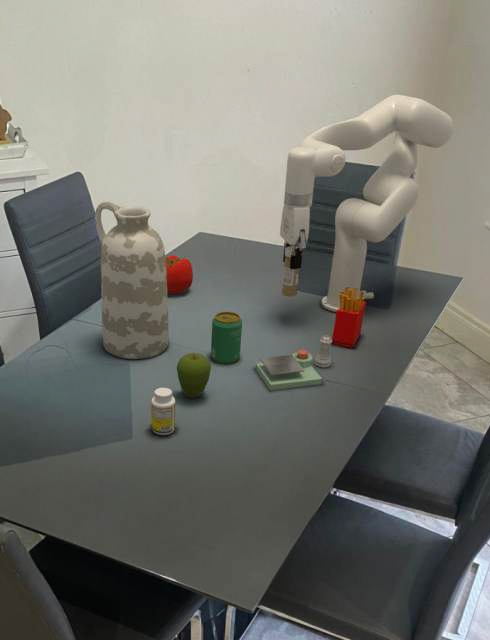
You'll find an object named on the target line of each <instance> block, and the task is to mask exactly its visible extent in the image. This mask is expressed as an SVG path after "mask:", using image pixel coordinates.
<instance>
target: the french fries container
mask: <svg viewBox="0 0 490 640" xmlns="http://www.w3.org/2000/svg"><path fill="white" fill-rule="evenodd" d="M360 291H361V292H360V298H359V297H358V298H356V300H355V297H356V292H357V288H354V291H353V290H352V289H350V290H349V287H348V286H347V287H345V295H344V291H341V294H340V295H339V298H340V308H339V310H337V312H335V318H334V325H333V332H332V337H331V339H332V342H331V344H334V346H335V345H336V346H339V347H340V346H342V347H346V348H354V347H355V345H356V343H357V341H358V340H359V338H360V336H361V333H362V327H363V323H364V321H363V320H364V316H365V310H366V306H367V305H366V304H367V301H365V299H364V298H363V293H364V291H365V290H360ZM352 292H353V296H352ZM351 298H352V300H351Z"/></svg>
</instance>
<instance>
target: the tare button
mask: <svg viewBox="0 0 490 640" xmlns="http://www.w3.org/2000/svg"><path fill="white" fill-rule="evenodd" d="M297 352H298V355H297V358H298V359H302V360H304V359H307V355H308V354H309V352H308V351H307V350H305V349H299V350H298V351H297Z"/></svg>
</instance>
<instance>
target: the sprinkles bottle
mask: <svg viewBox="0 0 490 640" xmlns="http://www.w3.org/2000/svg"><path fill="white" fill-rule="evenodd" d="M297 248H299V246H296V249H297ZM291 255H292V246H289V247H286V249H285V263H284V265H283V272H282V273H283V275H282V289H281V294H282V295H283V297H288V298H290V297H295V296H297V295H298V284H299V274H300V269H290V260H291Z"/></svg>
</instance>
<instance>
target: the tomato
mask: <svg viewBox="0 0 490 640" xmlns="http://www.w3.org/2000/svg"><path fill="white" fill-rule="evenodd" d="M165 259H166V276H167V294H169V295H179V294H180V295H181V294H183V293H184V292H185V291H186V290H189V288H190V287H191V286H192V284H193V279H194V274H193V273H194V272H193V266H192V263H191V261H190V259H188V258H185V257H182V258H181V257H178V256H177V255H172V254H171V255H169V256H168V257H166V256H165Z"/></svg>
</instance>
